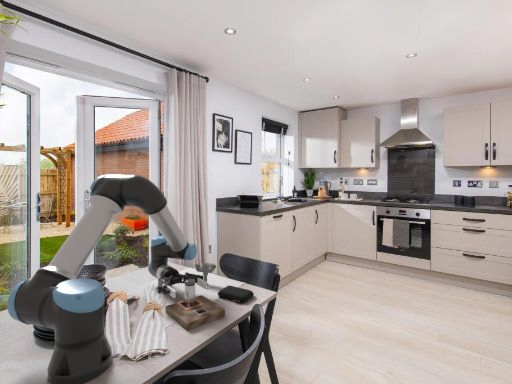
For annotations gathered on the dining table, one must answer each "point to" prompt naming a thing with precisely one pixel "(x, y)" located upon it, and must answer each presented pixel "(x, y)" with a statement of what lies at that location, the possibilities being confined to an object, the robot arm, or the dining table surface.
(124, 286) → the dining table surface
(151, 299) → the dining table surface
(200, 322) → the socket board
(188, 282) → the metal cylinder
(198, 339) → the dining table surface
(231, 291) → the carrying case or bag
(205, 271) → the mechanical component
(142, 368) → the dining table surface
